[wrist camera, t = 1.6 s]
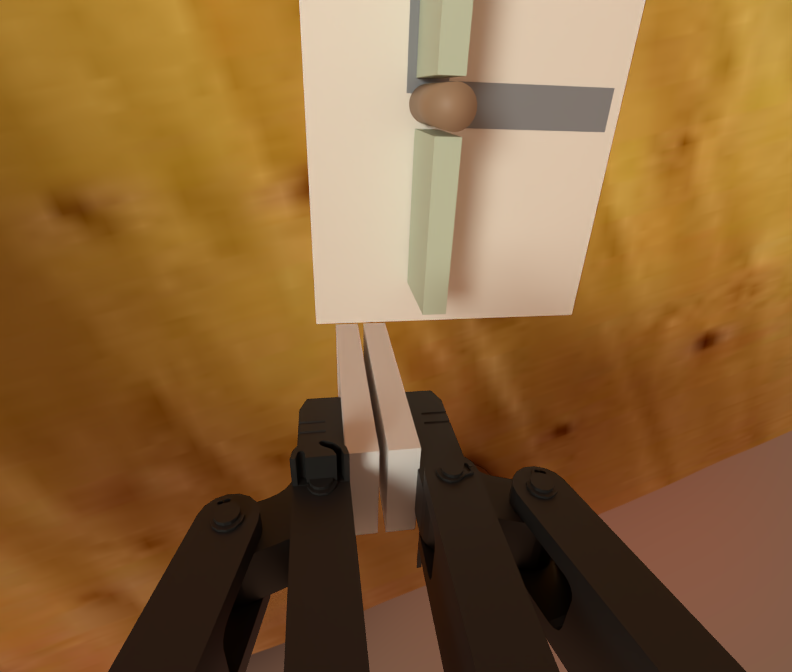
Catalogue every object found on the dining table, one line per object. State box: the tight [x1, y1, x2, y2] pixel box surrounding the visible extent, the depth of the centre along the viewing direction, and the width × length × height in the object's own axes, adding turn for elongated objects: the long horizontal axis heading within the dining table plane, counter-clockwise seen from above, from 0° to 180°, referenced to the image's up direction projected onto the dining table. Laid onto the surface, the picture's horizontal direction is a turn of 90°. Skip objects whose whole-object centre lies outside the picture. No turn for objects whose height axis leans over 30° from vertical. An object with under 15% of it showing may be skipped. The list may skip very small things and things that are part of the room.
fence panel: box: [407, 129, 462, 315], centre depth 31 cm, size 2×11×6 cm, turn 178°
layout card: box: [299, 0, 645, 324], centre depth 31 cm, size 22×32×1 cm
